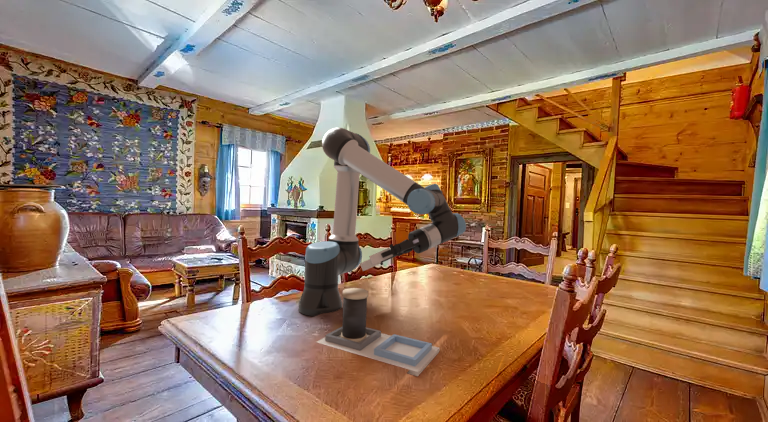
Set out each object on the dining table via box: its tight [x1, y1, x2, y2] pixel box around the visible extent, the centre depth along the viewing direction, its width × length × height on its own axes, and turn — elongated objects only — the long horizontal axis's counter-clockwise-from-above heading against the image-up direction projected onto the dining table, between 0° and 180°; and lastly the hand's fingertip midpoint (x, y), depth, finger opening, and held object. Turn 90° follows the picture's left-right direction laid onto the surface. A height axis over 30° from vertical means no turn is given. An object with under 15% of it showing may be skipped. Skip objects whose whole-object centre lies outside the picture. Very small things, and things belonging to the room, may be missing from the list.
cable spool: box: [341, 287, 369, 342], centre depth 92 cm, size 7×7×13 cm
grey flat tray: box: [315, 326, 441, 377], centre depth 89 cm, size 29×15×2 cm, turn 62°
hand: (366, 264), depth 103 cm, fingers open, 13 cm apart
